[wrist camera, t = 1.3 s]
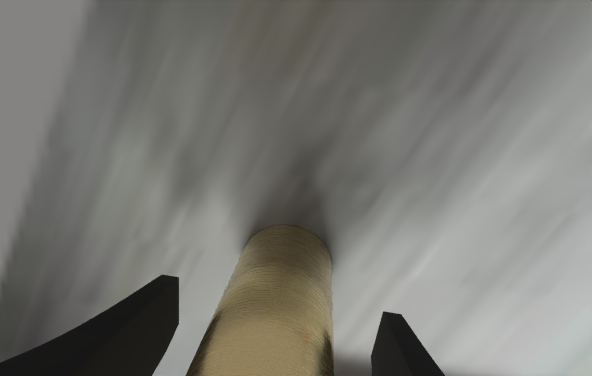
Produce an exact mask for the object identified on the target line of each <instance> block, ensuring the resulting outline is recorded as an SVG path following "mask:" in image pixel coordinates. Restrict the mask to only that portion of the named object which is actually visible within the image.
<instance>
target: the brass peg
mask: <svg viewBox="0 0 592 376" xmlns="http://www.w3.org/2000/svg"><path fill="white" fill-rule="evenodd" d="M186 376H334V356H333V299H332V262H331V257H330V254H329V252H328V250H327V248H326V246H325V245H324V244H323V242H322V241H321V240H320V239H319V238H318V237H317V236H315V235H314V234H312V233H311V232H309V231H307V230H305V229H303V228H300V227H296V226H292V225H276V226H271V227H268V228H265V229H263V230H261V231H259V232H258V233H256V234H255V235H254V236H253V237H252V238H251V239H250V240H249V241H248V243H247V244H246V246H245V248H244V250H243V252H242V254H241V257H240V259H239V261H238V263H237V265H236V267H235V270H234V272H233V274H232V276H231V278H230V280H229V283H228V285H227V287H226V289H225V291H224V293H223V296H222V298H221V300H220V302H219V304H218V307H217V309H216V311H215V313H214V315H213V317H212V320H211V322H210V324H209V326H208V328H207V330H206V333H205V335H204V337H203V339H202V341H201V343H200V346H199V348H198V350H197V352H196V354H195V356H194V359H193V361H192V363H191V365H190V367H189V370H188V372H187V374H186Z"/></svg>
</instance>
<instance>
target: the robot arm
mask: <svg viewBox="0 0 592 376" xmlns="http://www.w3.org/2000/svg"><path fill="white" fill-rule="evenodd" d="M178 324H179V277H173V276H167V275H161V276H159V277H158V278H156V279H154V280H153V281H151V282H150V283H148V284H147V285H145V286H144V287H142V288H141V289H139V290H138V291H136V292H134V293H133V294H131V295H130V296H128V297H127V298H125V299H123V300H122V301H120V302H119V303H117V304H116V305H114V306H112V307H111V308H109V309H108V310H106V311H104V312H102V313H101V314H99V315H97V316H95V317H94V318H92V319H90V320H89V321H87V322H85V323H83V324H82V325H80V326H78V327H76V328H74V329H73V330H71V331H69V332H67V333H65V334H63V335H61V336H59V337H57V338H55V339H53V340H51V341H49V342H47V343H45V344H43V345H41V346H38V347H36V348H34V349H32V350H29V351H27V352H25V353H22V354H20V355H18V356H15V357H13V358H11V359H8V360H6V361H4V362H1V363H0V376H152V374H153V373H154V371H155V369H156V368H157V366H158V364H159V363H160V361H161V359H162V357H163V356H164V354H165V352H166V351H167V348H168V346H169V344H170V342H171V340H172V338H173V335H174V333H175V331H176V328H177V326H178ZM371 365H372V376H445V375H444V374H443V372H442V371H441V370H440V368H439V367H438V366H437V364H436V363H435V362H434V360H433V359H432V358H431V356H430V355H429V353H428V352H427V351H426V349H425V348H424V346H423V345H422V344H421V342H420V341H419V339H418V338H417V336H416V335H415V334H414V332H413V331H412V329H411V328H410V326H409V325H408V323H407V322H406V320H405V319H404V318H403V316H402V315H401V314H396V313H390V312H384V311H383V314H382V318H381V322H380V325H379V329H378V333H377V336H376V340H375V344H374V347H373V351H372V355H371Z"/></svg>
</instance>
